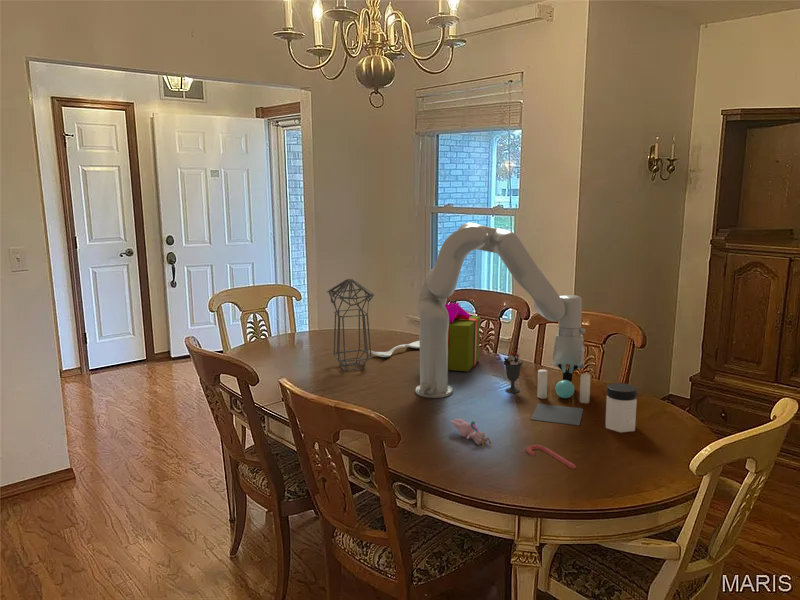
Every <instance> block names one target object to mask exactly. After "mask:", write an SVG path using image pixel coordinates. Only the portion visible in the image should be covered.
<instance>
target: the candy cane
mask: <svg viewBox="0 0 800 600" xmlns="http://www.w3.org/2000/svg"><path fill="white" fill-rule="evenodd" d="M533 450H541V451H543V452H544V453H546V454H547V455H549V456H551V457H552V458H554V459H556V460H557V461H558V462H561V463H563V464H564V465H565V466H568V467H569V468H571V469H573V470H575V469H576V468H577V466H576V465H575V463H573V462H571V461H569V460H567V459H566V458H564V457H563V456H561V455H559V454H557V453H556V452H555V451H553V450H551V449H550V448H548V447H546V446H544V445H540V444H532V445H531V444H530V445H529V446H527V447H526V448H525V452H526V453H527V454H528V455H530V456H532V457H535V456H536V452H535V451H533Z"/></svg>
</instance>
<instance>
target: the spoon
mask: <svg viewBox="0 0 800 600" xmlns="http://www.w3.org/2000/svg"><path fill="white" fill-rule="evenodd" d="M406 347H407V348H411V349H417V350H420V345H419V340H416V341H413V342H411V343H410V342H409V343H408V344H407V343H405V344H399V345H397V346H394V347H393V348H391V349H390V350H387V351H374V350H371V355H373V356H376V357H379V358H380V357H381V358H389V357H391V356H392V354H393V352H394V351H396V350H398V349H402V348H406ZM368 354H370V350H368Z"/></svg>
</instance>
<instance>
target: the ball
mask: <svg viewBox="0 0 800 600" xmlns="http://www.w3.org/2000/svg"><path fill="white" fill-rule="evenodd" d="M555 392H556V394H557V395H558V396H559V397H560V398H561V399H569V398H571V397H572V396H573V395H574V393H575V385H574V384H573V383H572V382H571V381H568V380H563V379H562V380H559V381H558V382H557V383H556V385H555Z"/></svg>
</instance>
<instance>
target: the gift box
mask: <svg viewBox="0 0 800 600" xmlns="http://www.w3.org/2000/svg"><path fill="white" fill-rule="evenodd" d="M445 307H446V309H447V311H448V314H449V328H448V371H457V372H458V371H459V372H470V370H471V369H472V368H474V367H475V366H477V365H476V364H477V363H478V361H479V360H480V328H481V316H476V315H472V314H469V313H468V311H466V310H465V309H464V308H463V307H462V306H461V305H460V303H459V302H456V303H452V301H449V303H447V302H446V304H445Z"/></svg>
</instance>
